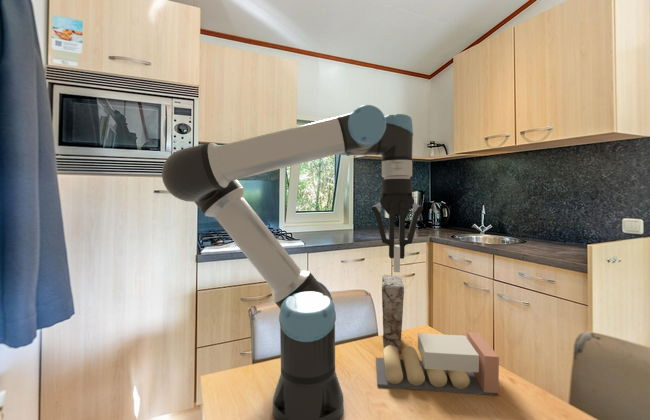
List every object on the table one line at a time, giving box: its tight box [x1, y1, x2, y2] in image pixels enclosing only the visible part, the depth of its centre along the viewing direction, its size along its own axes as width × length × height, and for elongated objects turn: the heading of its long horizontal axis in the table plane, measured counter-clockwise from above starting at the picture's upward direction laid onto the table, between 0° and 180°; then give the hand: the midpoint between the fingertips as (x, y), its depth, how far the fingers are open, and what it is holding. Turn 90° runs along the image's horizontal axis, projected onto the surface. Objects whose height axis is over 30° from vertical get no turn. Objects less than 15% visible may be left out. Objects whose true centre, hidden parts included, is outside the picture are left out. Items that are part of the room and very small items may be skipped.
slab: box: [417, 332, 479, 372], centre depth 76 cm, size 12×10×4 cm
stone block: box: [381, 274, 405, 355], centre depth 93 cm, size 13×7×20 cm, turn 176°
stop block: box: [466, 332, 500, 396], centre depth 75 cm, size 3×12×9 cm, turn 172°
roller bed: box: [375, 345, 499, 396], centre depth 77 cm, size 27×12×5 cm, turn 82°
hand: (396, 270), depth 78 cm, fingers closed
